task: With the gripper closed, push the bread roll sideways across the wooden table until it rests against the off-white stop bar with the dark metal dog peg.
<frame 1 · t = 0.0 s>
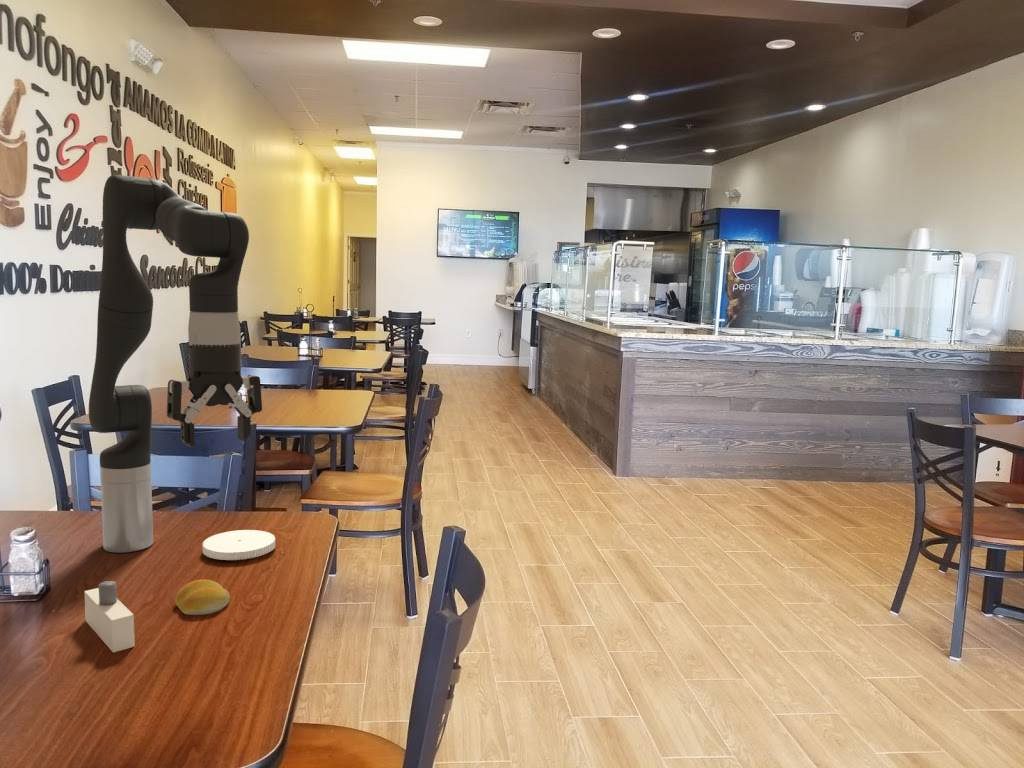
hand: (216, 442, 121), 29 cm above the table, tool pointing down, fingers open, 8 cm apart
bench stop: (109, 633, 118), on the table
plastic lid: (239, 553, 156), on the table
bread roll: (202, 607, 130), on the table
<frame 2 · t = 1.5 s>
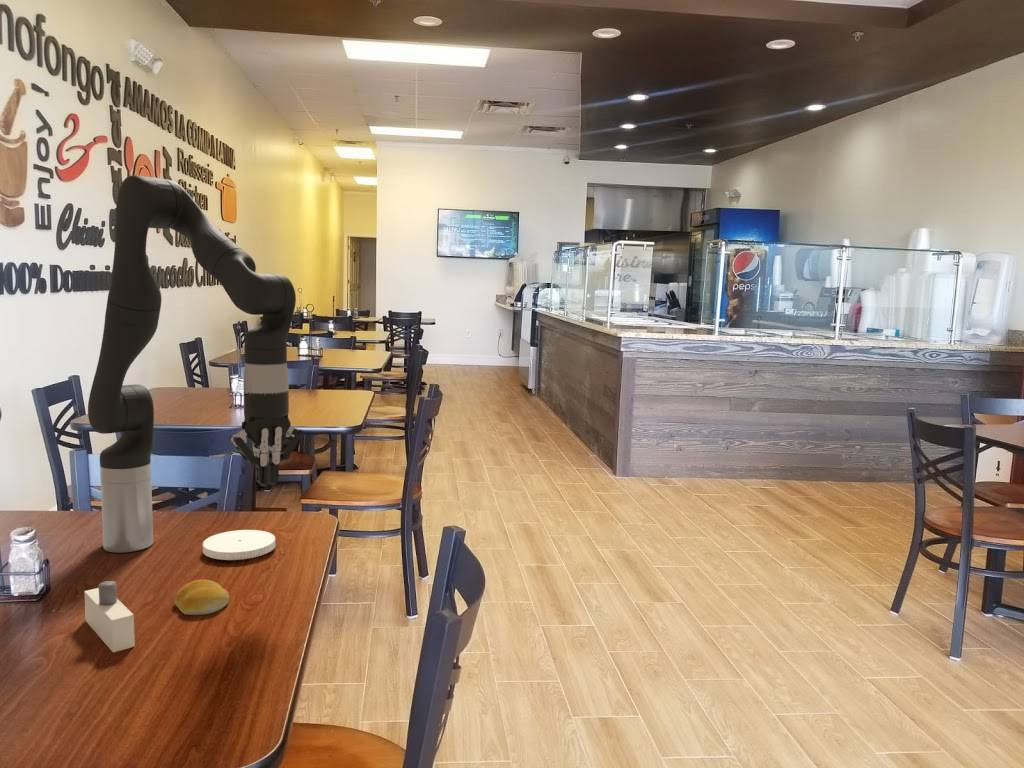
hand: (267, 484, 135), 19 cm above the table, tool pointing down, fingers closed
nothing on the table moved.
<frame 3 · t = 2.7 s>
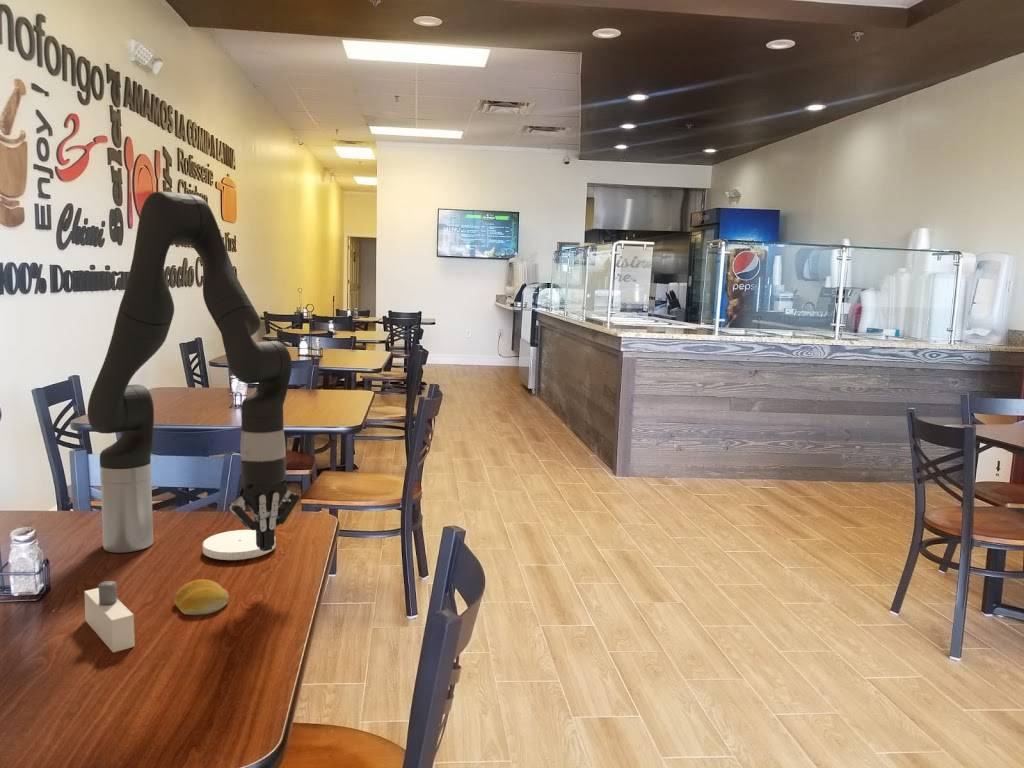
hand: (265, 549, 136), 7 cm above the table, tool pointing down, fingers closed
nothing on the table moved.
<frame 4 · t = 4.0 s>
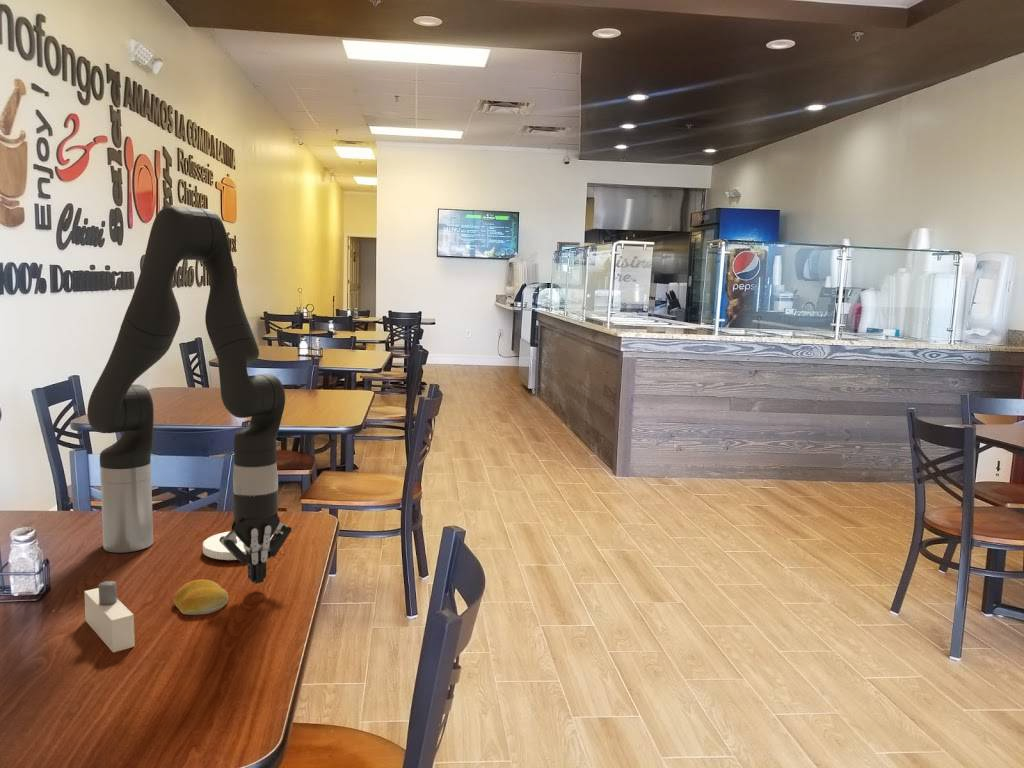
hand: (256, 581, 136), 1 cm above the table, tool pointing down, fingers closed
nothing on the table moved.
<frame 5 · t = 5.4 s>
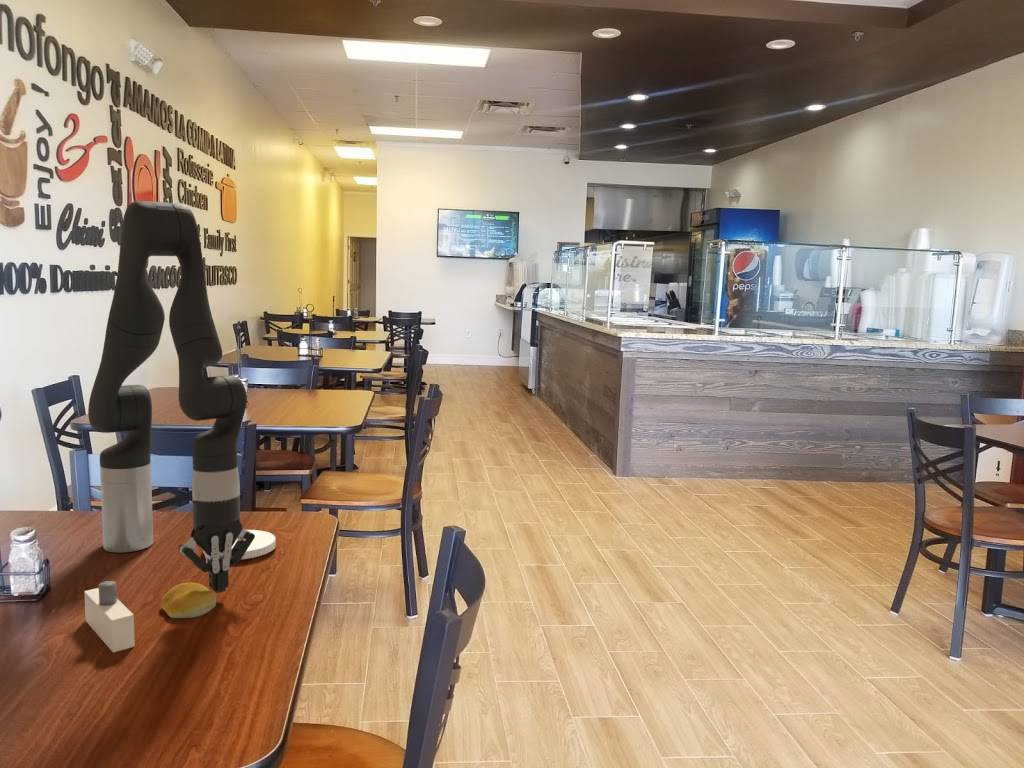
hand: (218, 591, 131), 2 cm above the table, tool pointing down, fingers closed
bread roll: (188, 610, 128), on the table, touching gripper
everything else where it was.
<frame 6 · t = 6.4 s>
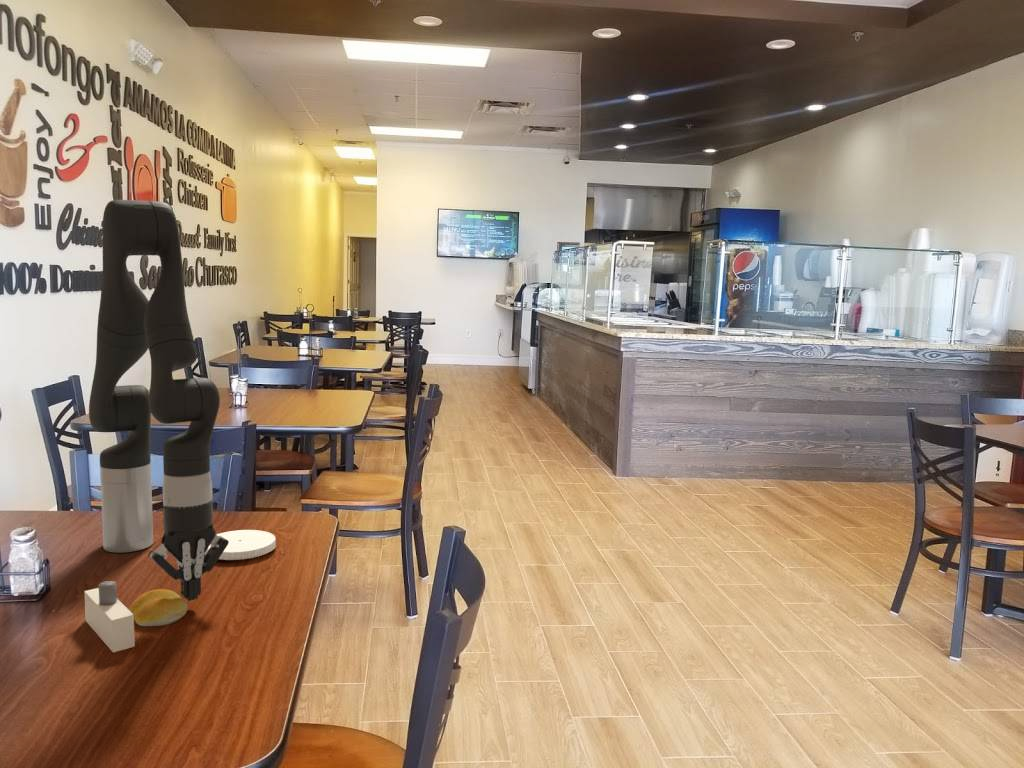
hand: (190, 598, 128), 2 cm above the table, tool pointing down, fingers closed
bread roll: (158, 617, 125), on the table
everything else where it was.
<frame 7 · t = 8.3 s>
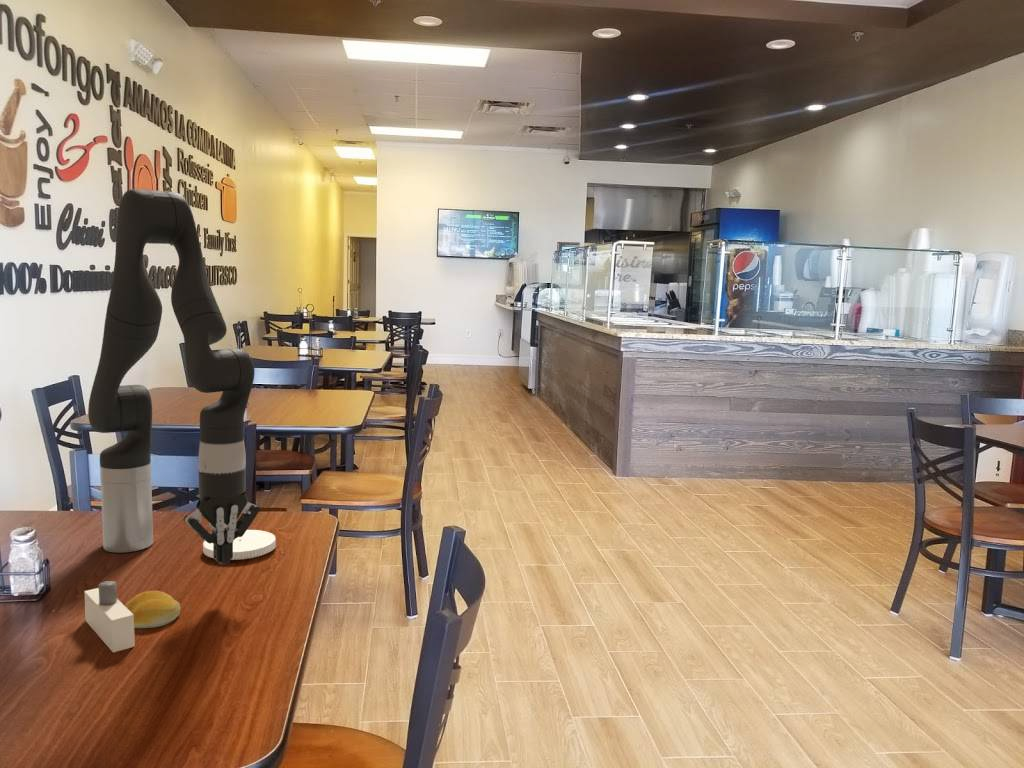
hand: (223, 562, 132), 6 cm above the table, tool pointing down, fingers closed
bread roll: (151, 619, 124), on the table
everything else where it was.
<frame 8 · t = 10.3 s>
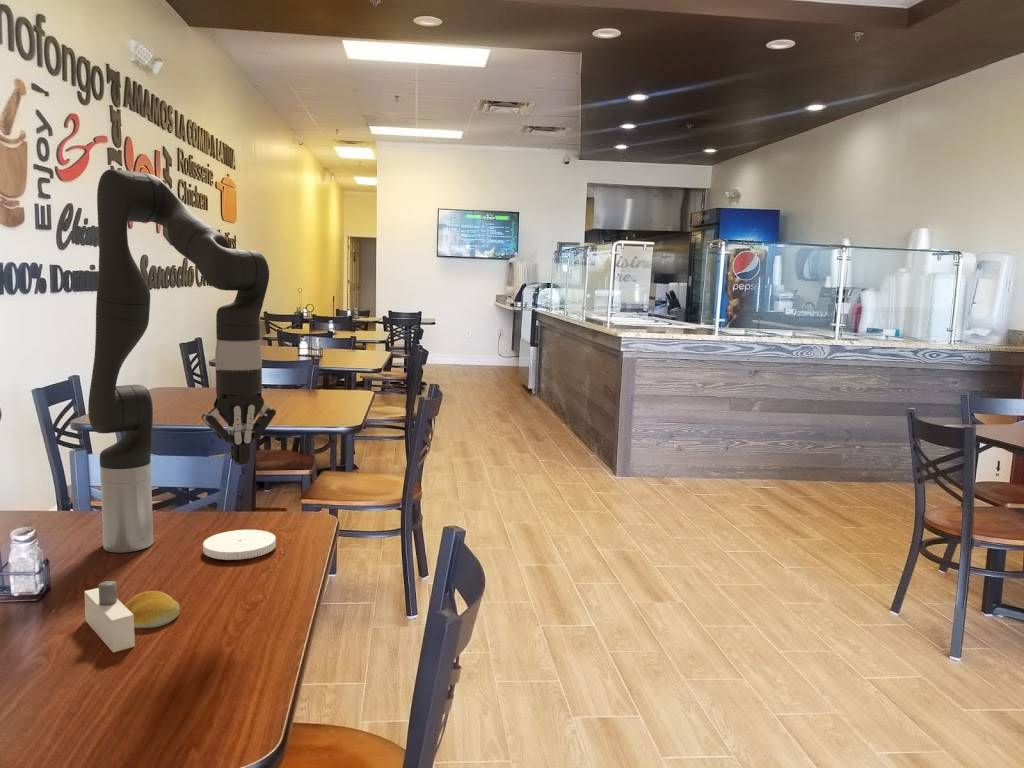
hand: (240, 463, 134), 23 cm above the table, tool pointing down, fingers closed
nothing on the table moved.
at the end: bread roll inside the target area (0.9 cm from its centre), on the table; bread roll moved 8.2 cm from its start; the gripper is holding nothing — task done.
